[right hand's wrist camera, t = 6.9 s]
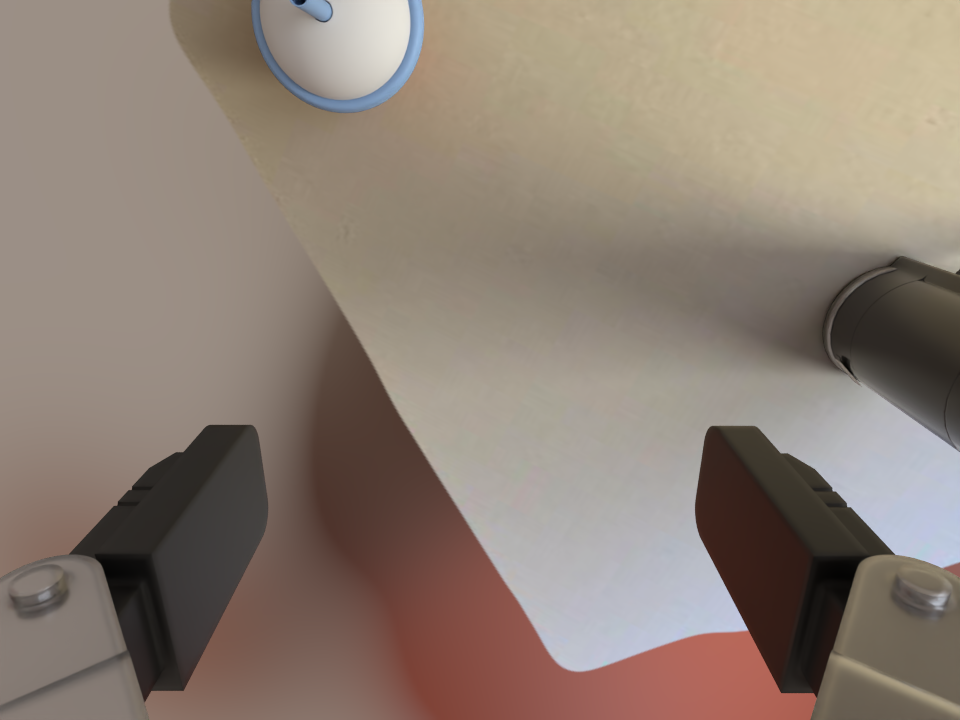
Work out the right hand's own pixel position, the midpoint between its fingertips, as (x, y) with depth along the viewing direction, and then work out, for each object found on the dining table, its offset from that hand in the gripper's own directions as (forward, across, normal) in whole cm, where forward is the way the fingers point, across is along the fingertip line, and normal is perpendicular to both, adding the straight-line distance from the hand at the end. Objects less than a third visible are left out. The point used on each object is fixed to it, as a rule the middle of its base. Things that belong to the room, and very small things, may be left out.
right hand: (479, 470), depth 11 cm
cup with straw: (+38, +8, -11) cm, 40 cm away
